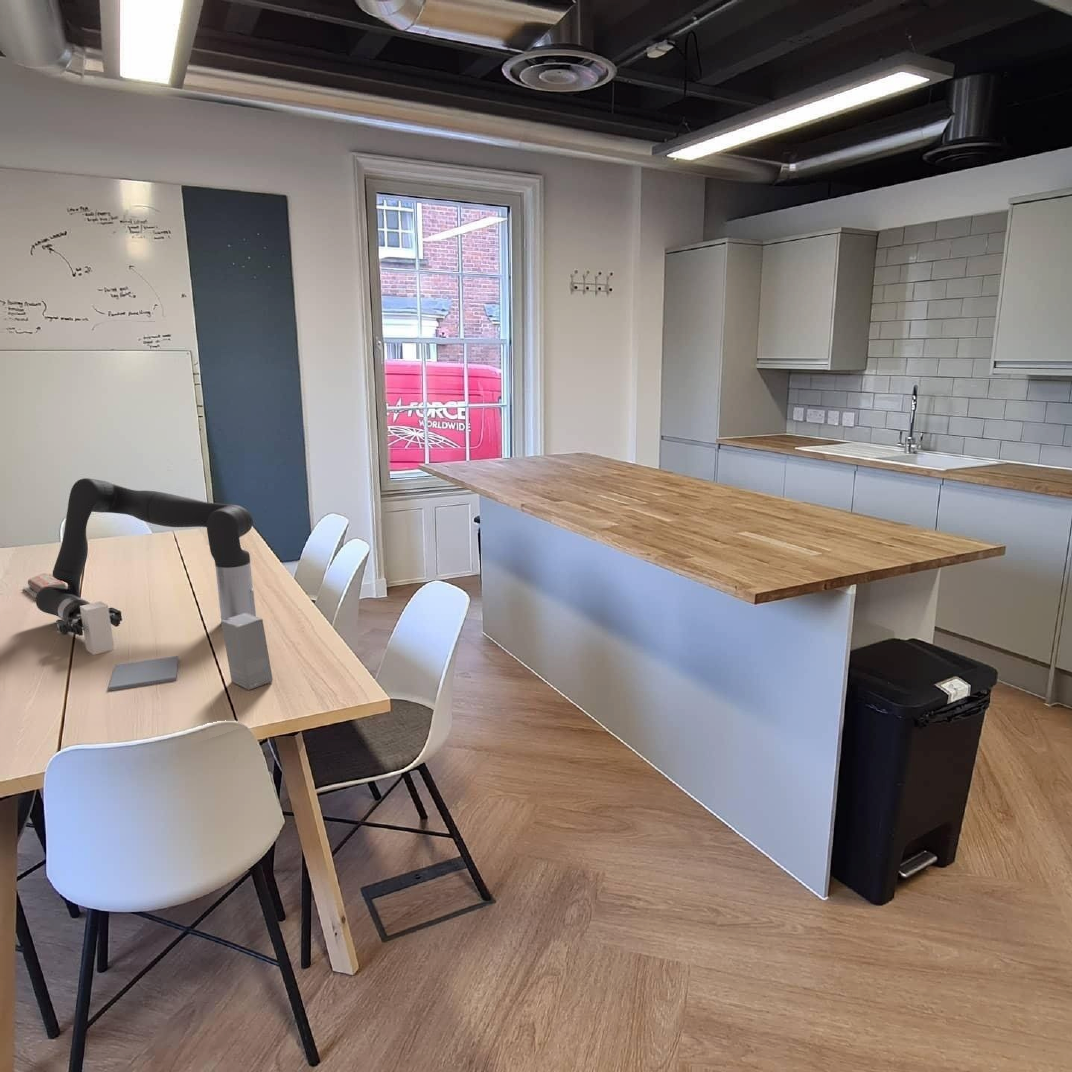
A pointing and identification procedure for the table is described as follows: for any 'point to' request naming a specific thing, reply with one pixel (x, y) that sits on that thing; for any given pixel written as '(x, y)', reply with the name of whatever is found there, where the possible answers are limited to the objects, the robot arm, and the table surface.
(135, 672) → the grey mat
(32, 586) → the packaged product
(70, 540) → the robot arm
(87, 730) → the table surface
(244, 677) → the skincare box
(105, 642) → the cream block
